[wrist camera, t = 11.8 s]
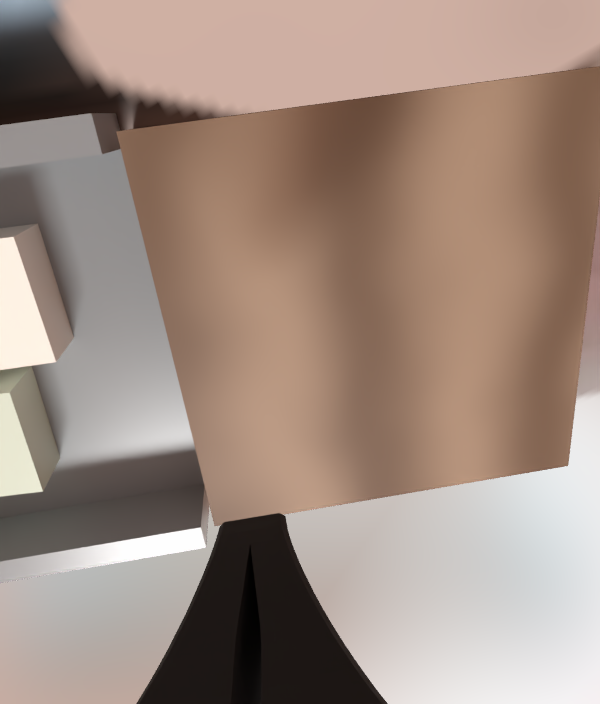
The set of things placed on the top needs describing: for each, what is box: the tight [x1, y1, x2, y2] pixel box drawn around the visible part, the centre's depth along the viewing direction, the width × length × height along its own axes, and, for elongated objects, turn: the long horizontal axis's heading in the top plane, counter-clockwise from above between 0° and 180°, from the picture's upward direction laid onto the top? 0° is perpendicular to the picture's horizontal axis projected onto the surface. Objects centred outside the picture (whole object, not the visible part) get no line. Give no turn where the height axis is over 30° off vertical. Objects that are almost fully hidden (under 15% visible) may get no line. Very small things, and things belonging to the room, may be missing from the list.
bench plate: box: [116, 66, 600, 526], centre depth 19 cm, size 14×14×2 cm
